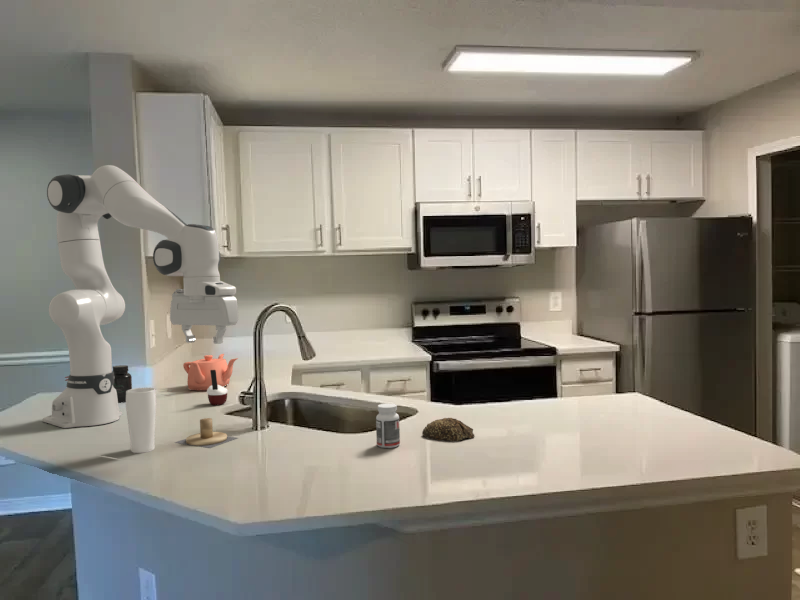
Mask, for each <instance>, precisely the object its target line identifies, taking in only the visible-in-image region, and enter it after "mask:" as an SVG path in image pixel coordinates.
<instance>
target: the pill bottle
mask: <svg viewBox="0 0 800 600" xmlns="http://www.w3.org/2000/svg"><path fill="white" fill-rule="evenodd" d="M397 406H398V405H397V404H395V403H380V404H378V405H377V412H378V414H377V415H376V416H375V427H376V428H375V429H376V435H375V436H376V446H377V447H378V448H381V449H393V448H398V447H399V446H400V443H401V434H400V433H401V432H400V416H399V414H398V413H397V410H398V407H397Z"/></svg>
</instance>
